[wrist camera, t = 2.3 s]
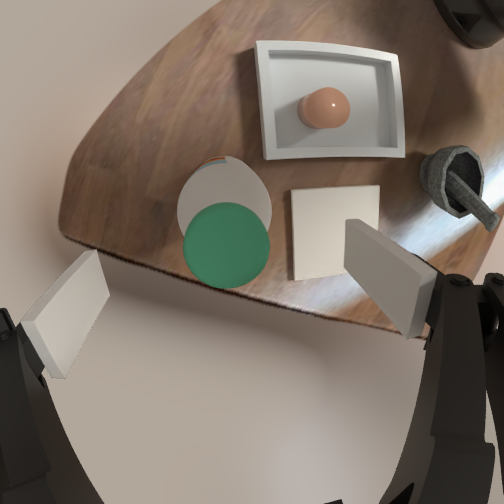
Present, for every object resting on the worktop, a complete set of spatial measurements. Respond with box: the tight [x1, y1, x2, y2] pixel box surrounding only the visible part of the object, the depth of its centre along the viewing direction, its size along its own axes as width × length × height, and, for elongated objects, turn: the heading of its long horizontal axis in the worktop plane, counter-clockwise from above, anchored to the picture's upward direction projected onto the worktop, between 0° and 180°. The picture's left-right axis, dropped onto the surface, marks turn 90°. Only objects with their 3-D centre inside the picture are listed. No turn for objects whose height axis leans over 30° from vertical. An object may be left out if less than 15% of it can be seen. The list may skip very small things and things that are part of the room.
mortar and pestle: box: [419, 145, 500, 232], centre depth 30 cm, size 11×9×12 cm
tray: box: [254, 41, 405, 160], centre depth 29 cm, size 18×14×2 cm
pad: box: [291, 185, 380, 281], centre depth 36 cm, size 12×12×1 cm
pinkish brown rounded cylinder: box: [297, 87, 350, 129], centre depth 28 cm, size 4×4×5 cm
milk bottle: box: [177, 156, 272, 288], centre depth 24 cm, size 8×8×20 cm
